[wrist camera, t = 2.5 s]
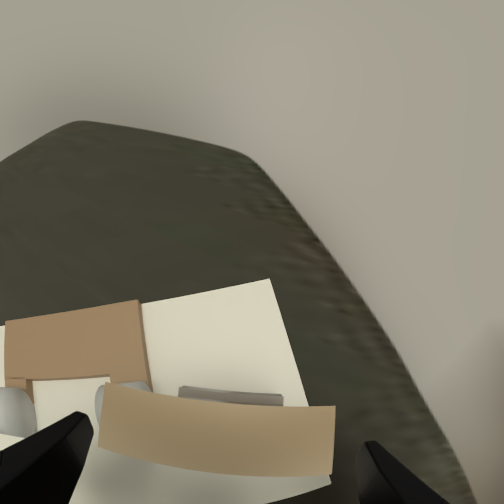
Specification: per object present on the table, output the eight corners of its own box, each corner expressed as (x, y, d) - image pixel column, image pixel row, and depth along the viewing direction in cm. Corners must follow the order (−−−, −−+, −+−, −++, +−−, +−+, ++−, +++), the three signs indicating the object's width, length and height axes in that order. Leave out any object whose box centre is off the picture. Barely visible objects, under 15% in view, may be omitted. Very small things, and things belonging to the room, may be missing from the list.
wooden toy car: (273, 450, 13) (328, 508, 4) (184, 442, 13) (95, 480, 4) (276, 395, 15) (335, 366, 6) (189, 388, 15) (111, 344, 6)
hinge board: (326, 480, 13) (351, 496, 9) (18, 493, 9) (-18, 497, 6) (268, 285, 20) (275, 251, 16) (-1, 331, 16) (-34, 311, 13)
